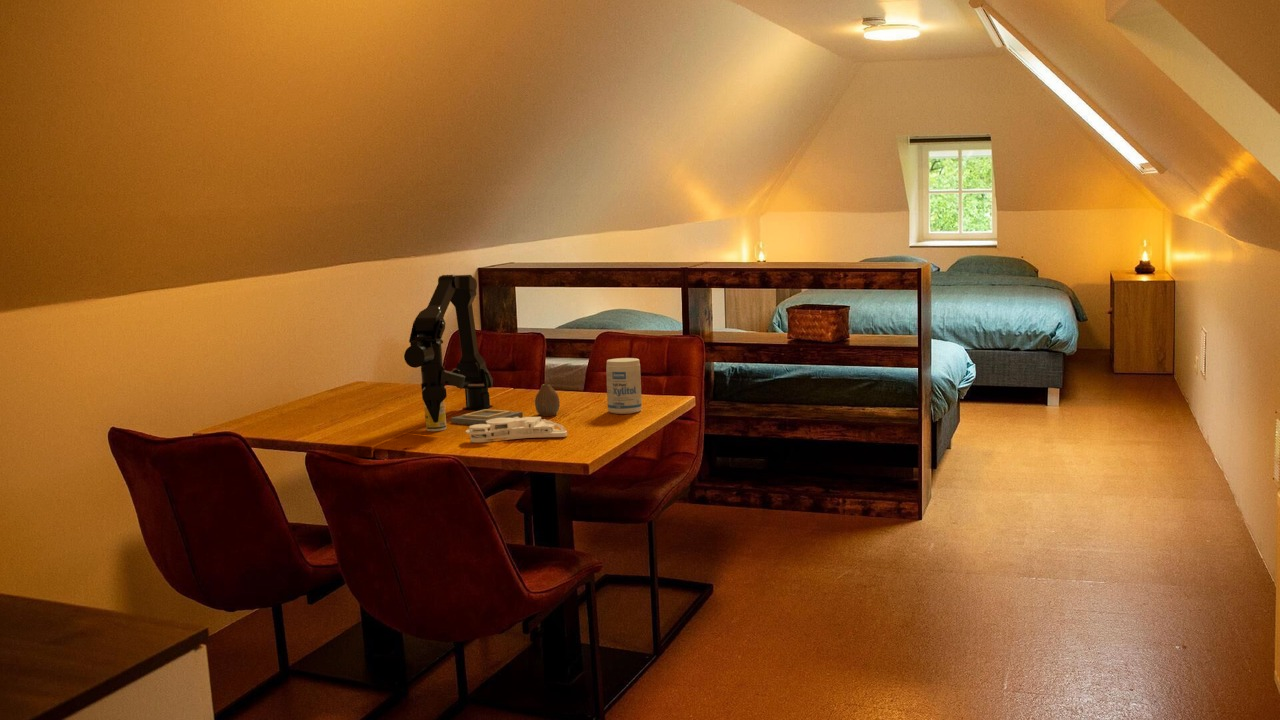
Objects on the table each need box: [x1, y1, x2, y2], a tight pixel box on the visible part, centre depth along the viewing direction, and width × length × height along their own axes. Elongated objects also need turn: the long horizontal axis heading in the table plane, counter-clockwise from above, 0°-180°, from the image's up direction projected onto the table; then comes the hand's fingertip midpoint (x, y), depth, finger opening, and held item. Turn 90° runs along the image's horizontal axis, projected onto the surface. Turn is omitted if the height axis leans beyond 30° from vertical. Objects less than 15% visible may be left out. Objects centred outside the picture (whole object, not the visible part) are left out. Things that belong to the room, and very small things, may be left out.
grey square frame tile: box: [450, 408, 524, 426], centre depth 308 cm, size 14×14×2 cm
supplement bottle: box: [423, 400, 447, 432], centre depth 296 cm, size 5×5×10 cm
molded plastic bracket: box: [465, 416, 568, 443], centre depth 288 cm, size 23×25×4 cm
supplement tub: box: [605, 357, 643, 415], centre depth 310 cm, size 10×10×15 cm
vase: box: [534, 383, 561, 417], centre depth 311 cm, size 7×7×9 cm
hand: (435, 420), depth 296 cm, fingers closed on supplement bottle, 5 cm apart
